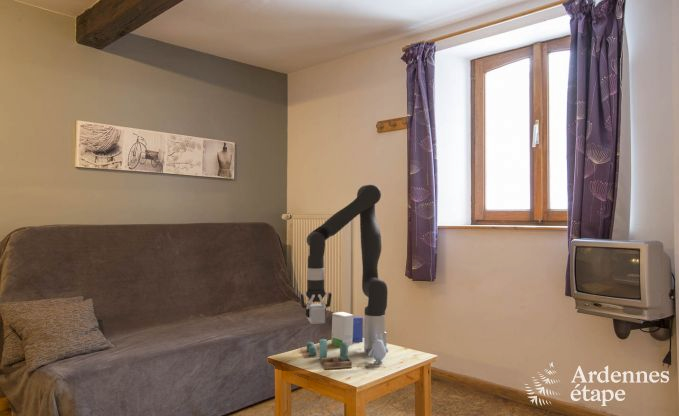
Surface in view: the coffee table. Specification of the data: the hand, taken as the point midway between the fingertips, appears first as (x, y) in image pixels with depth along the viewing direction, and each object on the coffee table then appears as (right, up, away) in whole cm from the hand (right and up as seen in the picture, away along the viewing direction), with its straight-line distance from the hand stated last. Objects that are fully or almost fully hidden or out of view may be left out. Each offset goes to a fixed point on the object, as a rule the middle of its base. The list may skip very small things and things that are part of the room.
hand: (315, 316), depth 204 cm
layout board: (-2, -17, +1) cm, 17 cm away
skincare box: (+12, -18, +16) cm, 27 cm away
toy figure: (+26, -18, -8) cm, 33 cm away
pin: (+3, -17, -7) cm, 19 cm away
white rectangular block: (0, -1, 0) cm, 1 cm away
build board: (+9, -17, -12) cm, 23 cm away
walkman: (+18, -18, +25) cm, 36 cm away
